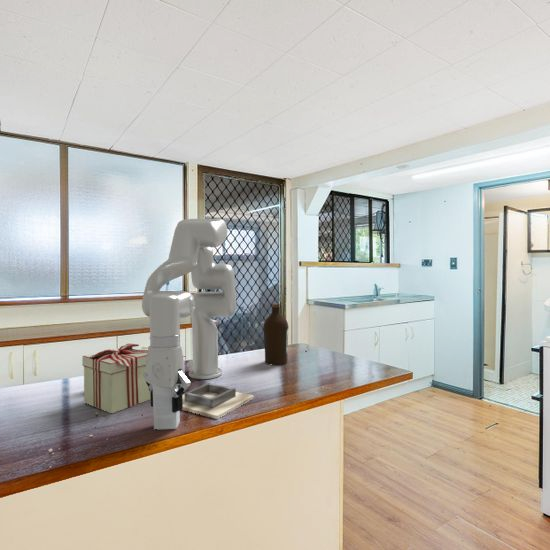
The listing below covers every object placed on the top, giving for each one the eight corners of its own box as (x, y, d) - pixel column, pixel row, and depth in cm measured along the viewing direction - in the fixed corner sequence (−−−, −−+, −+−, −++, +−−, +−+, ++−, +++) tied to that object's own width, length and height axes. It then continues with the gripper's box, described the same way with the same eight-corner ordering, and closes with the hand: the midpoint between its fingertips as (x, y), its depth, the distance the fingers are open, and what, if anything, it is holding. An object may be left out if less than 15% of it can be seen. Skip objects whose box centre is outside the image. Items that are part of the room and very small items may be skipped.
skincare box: (180, 422, 104) (179, 378, 103) (176, 429, 100) (175, 384, 99) (157, 423, 104) (156, 379, 103) (153, 430, 99) (152, 384, 99)
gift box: (120, 417, 108) (119, 356, 107) (79, 405, 116) (77, 349, 116) (165, 398, 122) (164, 344, 122) (125, 388, 131) (124, 339, 131)
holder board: (165, 405, 116) (165, 394, 116) (205, 388, 131) (204, 378, 131) (217, 419, 106) (217, 406, 106) (253, 398, 121) (253, 387, 121)
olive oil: (266, 366, 157) (266, 305, 156) (261, 360, 167) (261, 302, 166) (291, 364, 159) (291, 304, 158) (285, 358, 170) (284, 302, 169)
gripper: (131, 340, 102) (132, 406, 103) (179, 347, 93) (180, 420, 94) (153, 335, 108) (154, 397, 109) (200, 342, 99) (201, 409, 100)
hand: (166, 407), depth 101 cm, fingers closed on skincare box, 7 cm apart
